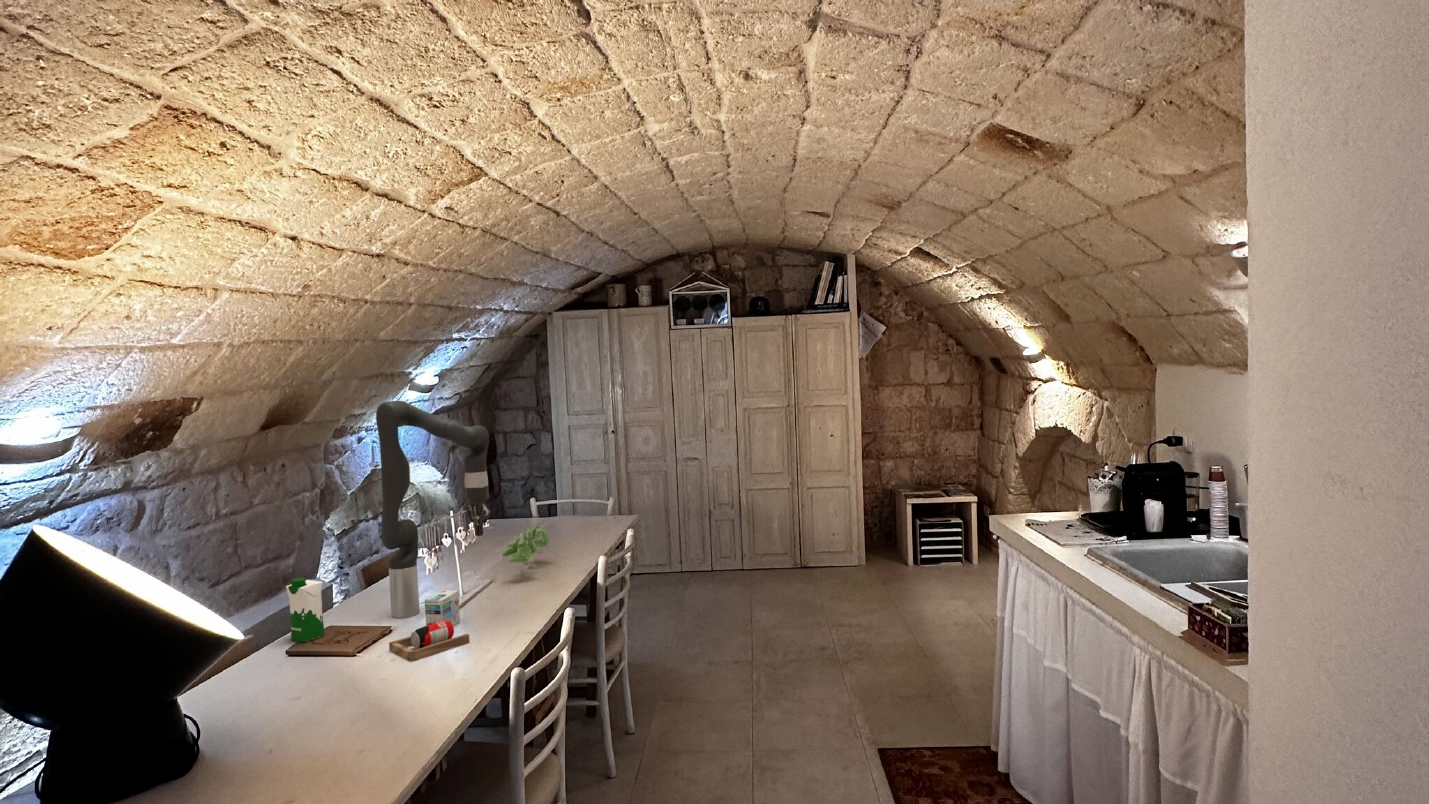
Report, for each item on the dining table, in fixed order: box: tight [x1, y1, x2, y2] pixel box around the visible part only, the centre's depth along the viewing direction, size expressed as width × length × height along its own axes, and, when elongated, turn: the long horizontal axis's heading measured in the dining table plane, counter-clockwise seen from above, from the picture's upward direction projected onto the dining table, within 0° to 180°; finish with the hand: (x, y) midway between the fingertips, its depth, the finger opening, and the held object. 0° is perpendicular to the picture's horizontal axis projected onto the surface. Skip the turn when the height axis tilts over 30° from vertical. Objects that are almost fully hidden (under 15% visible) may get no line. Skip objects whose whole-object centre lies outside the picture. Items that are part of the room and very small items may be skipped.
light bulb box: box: [424, 589, 461, 627], centre depth 256 cm, size 11×7×11 cm, turn 168°
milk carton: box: [285, 577, 326, 643], centre depth 249 cm, size 9×9×20 cm
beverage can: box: [410, 620, 455, 650], centre depth 239 cm, size 6×6×12 cm
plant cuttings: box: [502, 524, 566, 579], centre depth 316 cm, size 35×17×22 cm
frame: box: [388, 633, 470, 662], centre depth 238 cm, size 14×19×2 cm
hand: (479, 535), depth 260 cm, fingers closed
